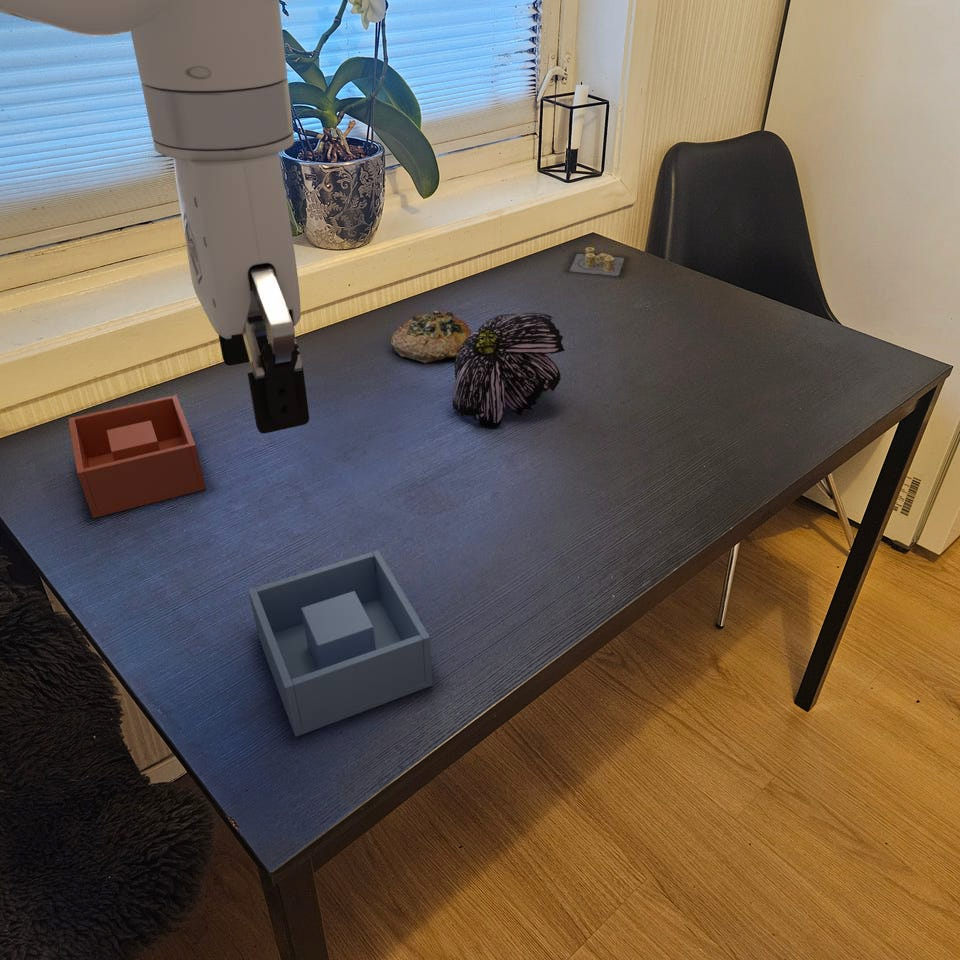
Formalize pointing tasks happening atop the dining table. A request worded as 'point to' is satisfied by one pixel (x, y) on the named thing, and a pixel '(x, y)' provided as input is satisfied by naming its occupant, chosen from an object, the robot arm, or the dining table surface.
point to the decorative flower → (506, 366)
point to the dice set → (597, 263)
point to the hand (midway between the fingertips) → (264, 391)
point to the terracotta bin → (140, 475)
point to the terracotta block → (132, 440)
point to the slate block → (337, 630)
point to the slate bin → (354, 681)
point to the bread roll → (430, 337)
